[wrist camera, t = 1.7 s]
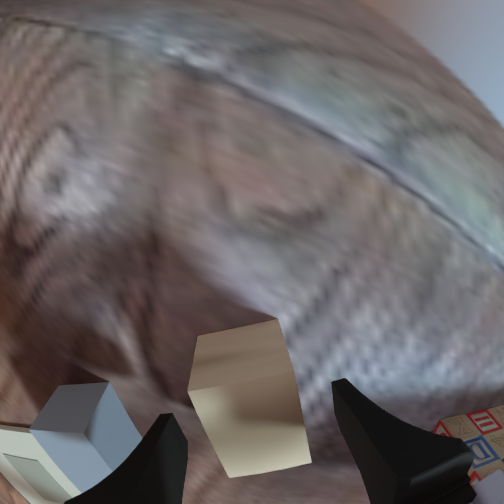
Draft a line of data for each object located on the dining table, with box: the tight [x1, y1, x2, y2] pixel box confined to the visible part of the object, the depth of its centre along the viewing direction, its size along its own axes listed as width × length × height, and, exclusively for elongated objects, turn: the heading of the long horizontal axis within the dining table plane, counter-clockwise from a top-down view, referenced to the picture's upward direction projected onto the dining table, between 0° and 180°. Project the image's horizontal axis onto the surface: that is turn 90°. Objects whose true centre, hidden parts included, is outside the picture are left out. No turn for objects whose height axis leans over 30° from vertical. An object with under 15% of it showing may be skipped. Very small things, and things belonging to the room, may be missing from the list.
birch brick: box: [187, 319, 312, 478], centre depth 14 cm, size 6×4×4 cm, turn 13°
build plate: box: [0, 425, 81, 504], centre depth 18 cm, size 14×14×1 cm
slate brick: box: [29, 382, 142, 493], centre depth 14 cm, size 6×4×4 cm, turn 13°
